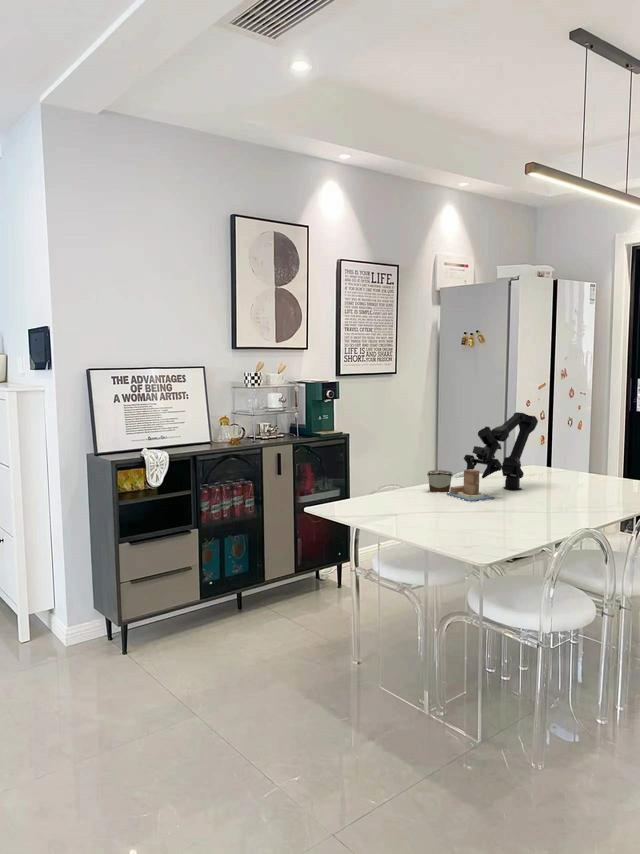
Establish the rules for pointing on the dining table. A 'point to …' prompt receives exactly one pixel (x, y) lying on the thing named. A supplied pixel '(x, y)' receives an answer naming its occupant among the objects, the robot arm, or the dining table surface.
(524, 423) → the robot arm
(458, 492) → the blueprint board
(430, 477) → the food container
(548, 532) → the dining table surface
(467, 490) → the pillar
